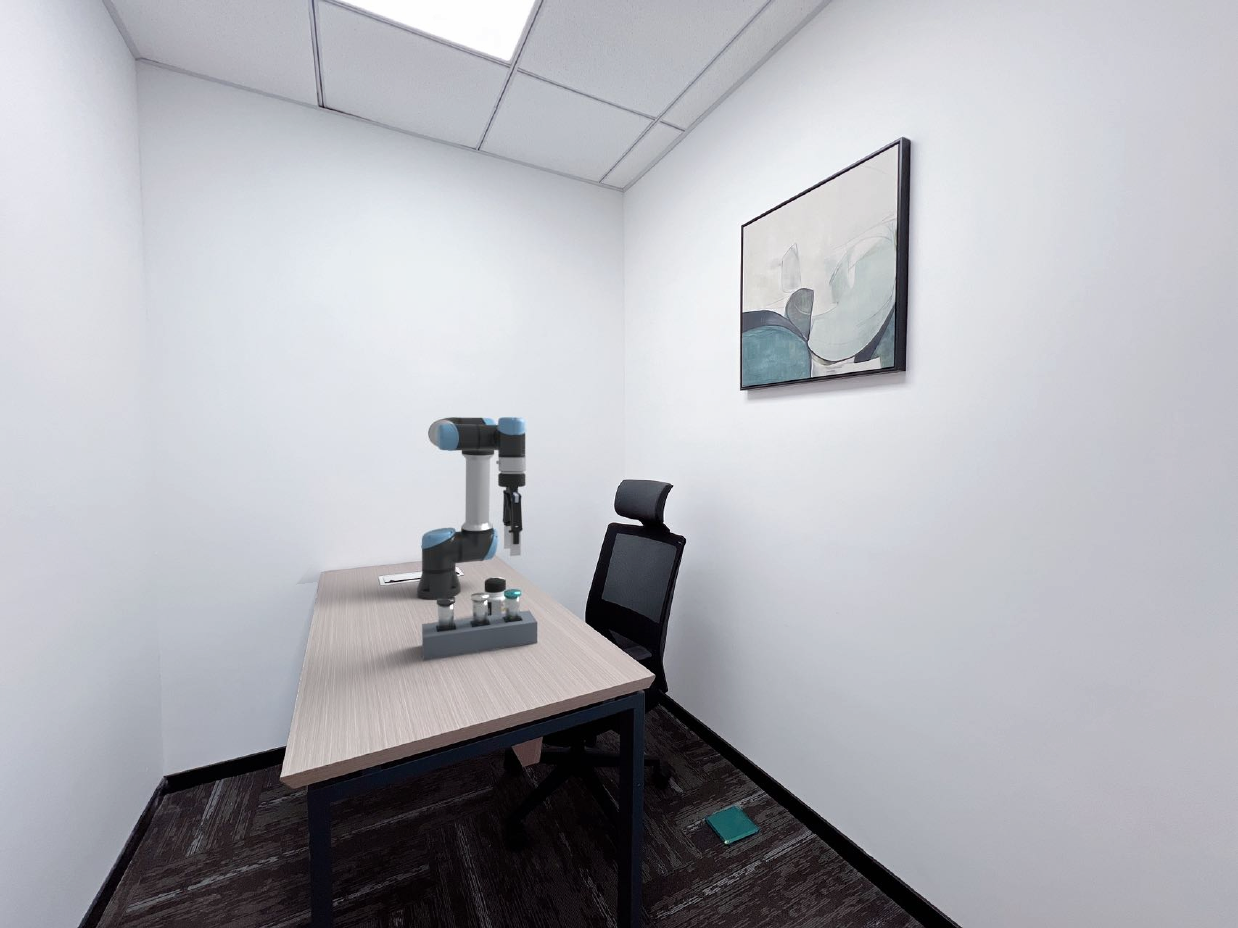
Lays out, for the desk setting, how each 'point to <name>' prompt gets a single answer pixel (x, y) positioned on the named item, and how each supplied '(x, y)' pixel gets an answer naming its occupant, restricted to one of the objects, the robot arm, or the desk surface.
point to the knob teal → (512, 605)
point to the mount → (478, 636)
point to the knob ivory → (480, 609)
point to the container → (495, 595)
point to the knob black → (445, 613)
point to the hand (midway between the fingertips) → (512, 551)
